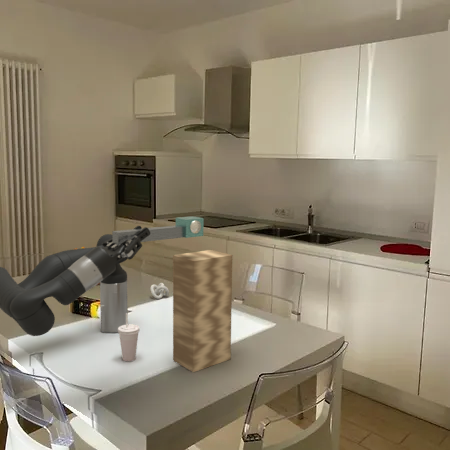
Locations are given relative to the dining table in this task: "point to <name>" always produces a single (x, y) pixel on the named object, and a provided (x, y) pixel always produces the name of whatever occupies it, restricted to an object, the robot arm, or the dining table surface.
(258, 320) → the dining table surface
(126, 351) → the smoothie
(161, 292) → the knot
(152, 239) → the bar
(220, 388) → the dining table surface
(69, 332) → the dining table surface
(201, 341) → the stand
